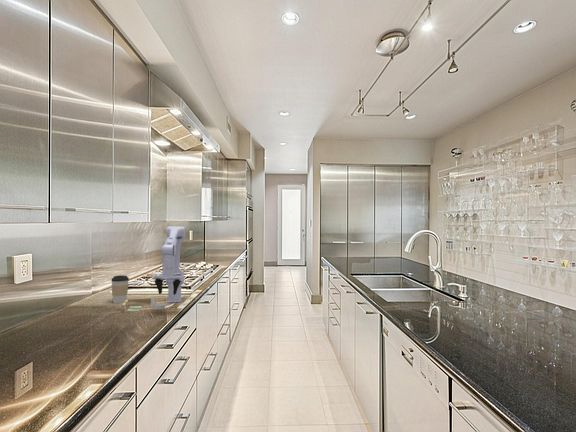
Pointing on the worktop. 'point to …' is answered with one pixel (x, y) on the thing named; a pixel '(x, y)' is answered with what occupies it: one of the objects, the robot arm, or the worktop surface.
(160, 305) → the block
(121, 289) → the coffee cup
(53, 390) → the worktop surface
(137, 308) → the wooden corner frame
